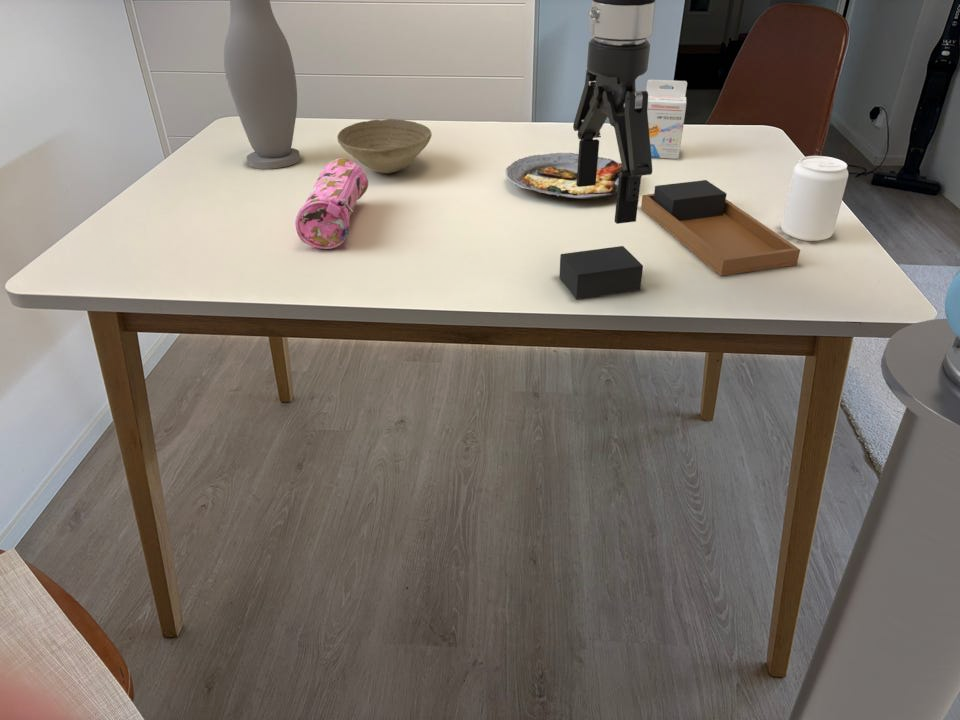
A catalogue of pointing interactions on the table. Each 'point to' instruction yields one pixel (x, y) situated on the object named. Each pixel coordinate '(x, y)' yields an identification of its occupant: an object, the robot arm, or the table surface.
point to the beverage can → (814, 198)
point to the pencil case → (331, 204)
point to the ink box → (666, 117)
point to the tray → (727, 239)
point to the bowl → (385, 143)
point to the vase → (262, 83)
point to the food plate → (563, 175)
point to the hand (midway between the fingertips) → (604, 202)
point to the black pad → (600, 272)
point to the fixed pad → (691, 199)
